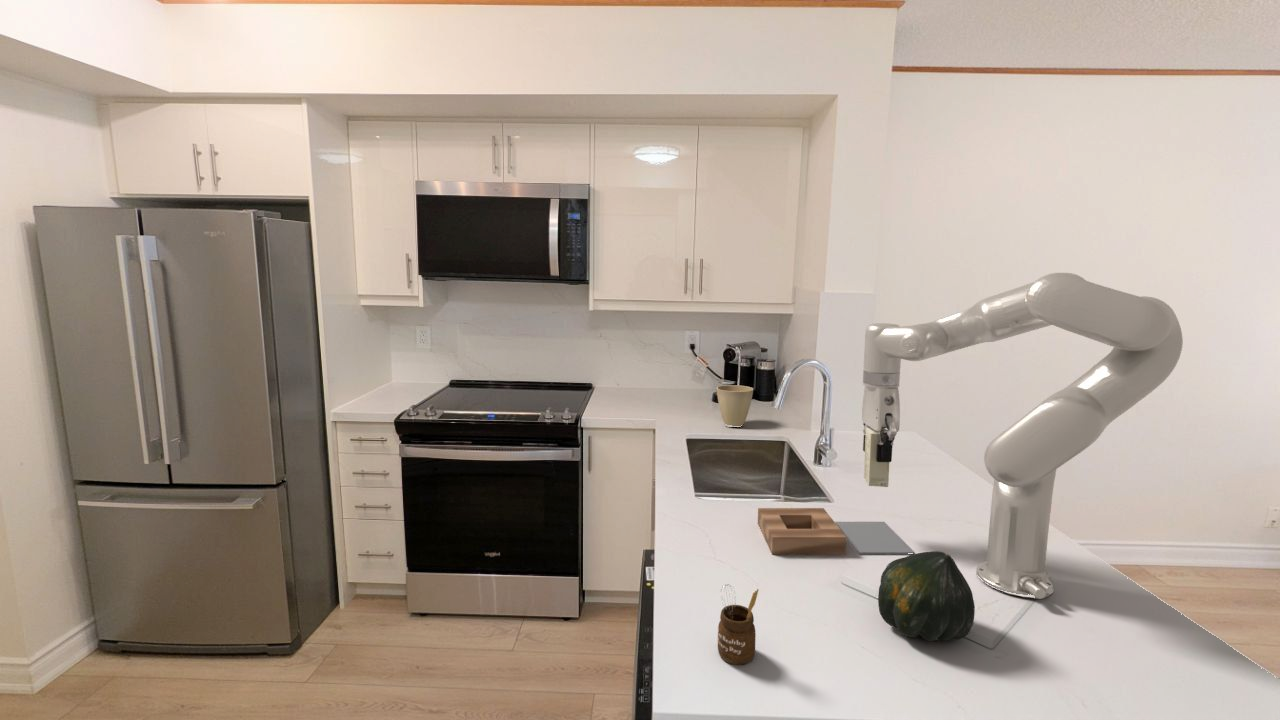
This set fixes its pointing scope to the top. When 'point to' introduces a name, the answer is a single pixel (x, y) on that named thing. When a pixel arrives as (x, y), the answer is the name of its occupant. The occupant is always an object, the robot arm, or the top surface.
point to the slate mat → (873, 538)
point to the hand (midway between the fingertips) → (876, 455)
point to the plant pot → (734, 403)
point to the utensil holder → (737, 632)
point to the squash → (926, 597)
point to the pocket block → (801, 531)
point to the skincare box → (874, 461)
